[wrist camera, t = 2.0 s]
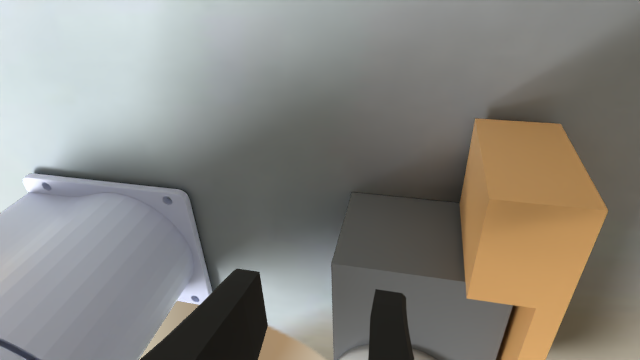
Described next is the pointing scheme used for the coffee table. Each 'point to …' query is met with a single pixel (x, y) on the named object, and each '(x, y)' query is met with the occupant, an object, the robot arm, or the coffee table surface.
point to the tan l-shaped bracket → (526, 227)
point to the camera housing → (410, 280)
